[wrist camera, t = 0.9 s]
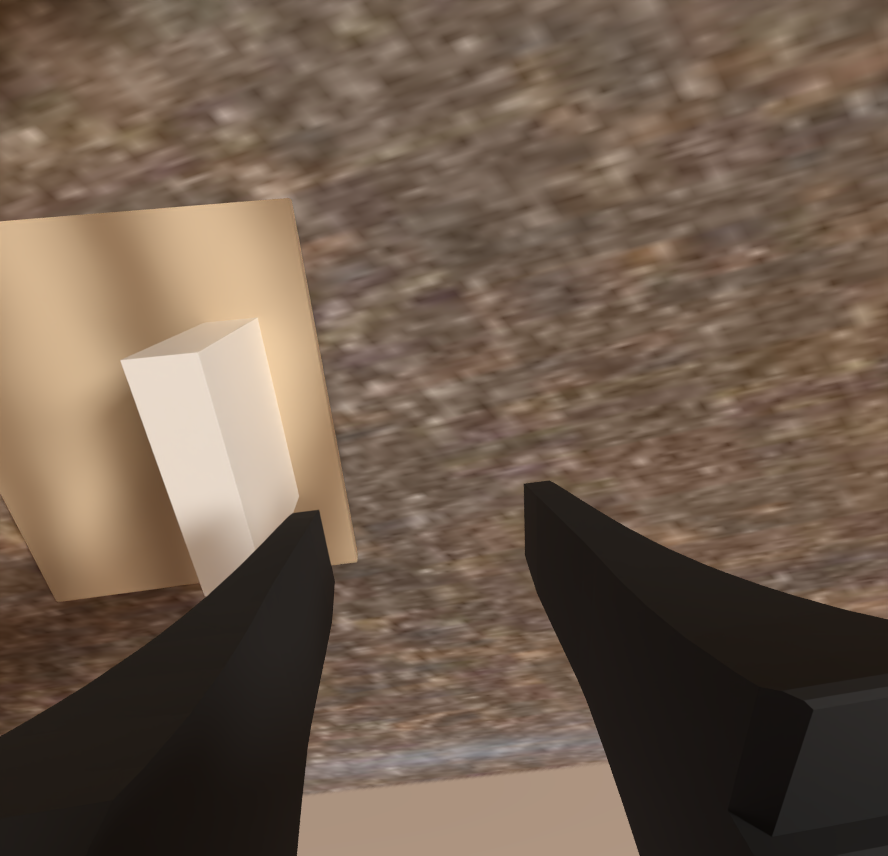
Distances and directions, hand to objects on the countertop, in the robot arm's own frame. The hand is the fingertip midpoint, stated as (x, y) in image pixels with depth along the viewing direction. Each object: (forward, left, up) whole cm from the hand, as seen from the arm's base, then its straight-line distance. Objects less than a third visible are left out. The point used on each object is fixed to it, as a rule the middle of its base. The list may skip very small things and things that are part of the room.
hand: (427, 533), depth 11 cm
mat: (-11, 0, -10) cm, 15 cm away
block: (-7, 0, -10) cm, 12 cm away
